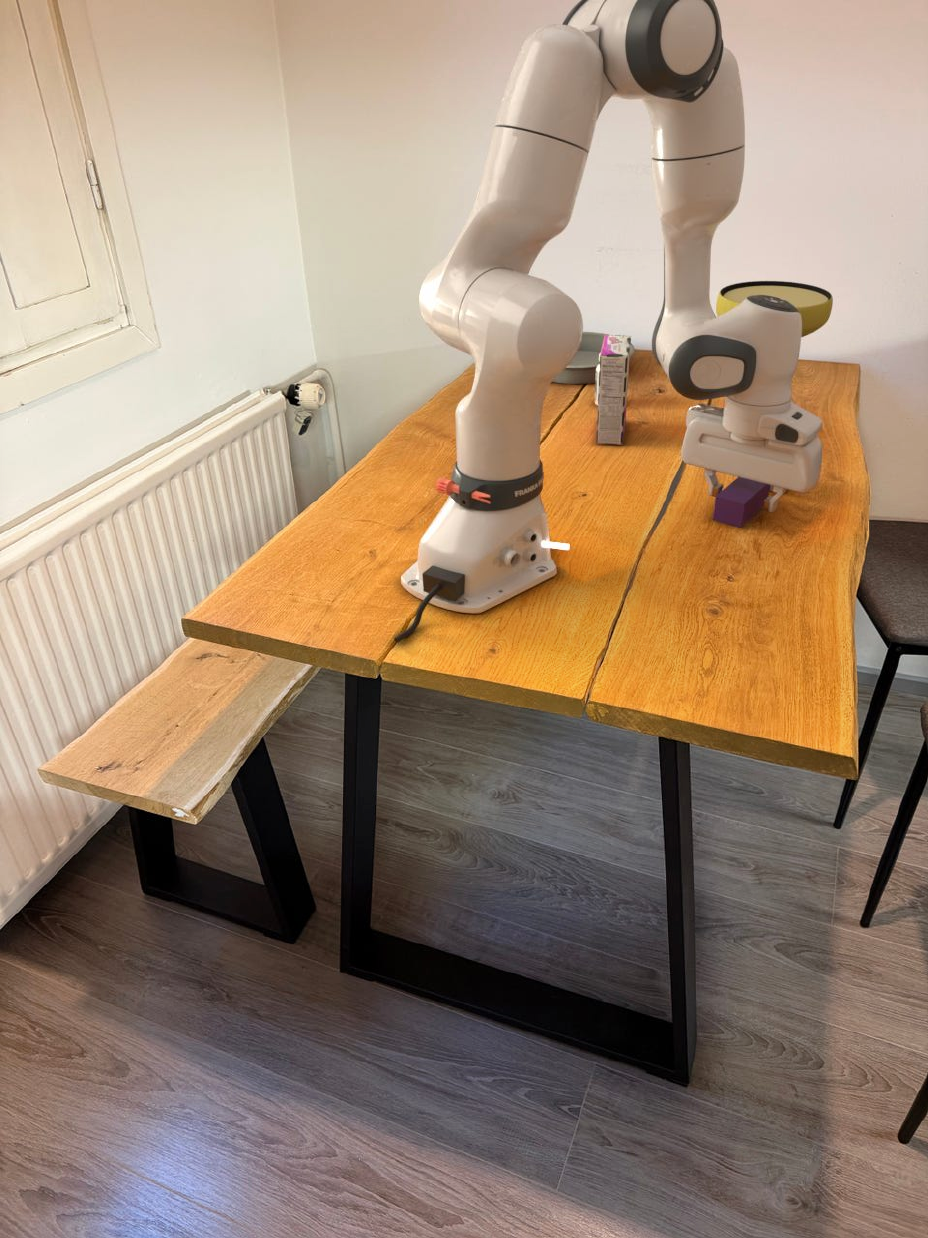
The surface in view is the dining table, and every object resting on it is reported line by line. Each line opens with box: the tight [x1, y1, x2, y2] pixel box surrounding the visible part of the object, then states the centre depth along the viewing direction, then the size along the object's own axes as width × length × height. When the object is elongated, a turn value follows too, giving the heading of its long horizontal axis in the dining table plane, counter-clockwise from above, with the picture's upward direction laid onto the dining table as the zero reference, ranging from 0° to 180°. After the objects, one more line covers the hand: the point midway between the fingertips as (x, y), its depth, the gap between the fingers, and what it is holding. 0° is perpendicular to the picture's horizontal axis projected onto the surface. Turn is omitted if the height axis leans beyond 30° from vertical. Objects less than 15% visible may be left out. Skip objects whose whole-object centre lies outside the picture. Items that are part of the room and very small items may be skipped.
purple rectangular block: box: [712, 477, 771, 528], centre depth 134 cm, size 10×4×4 cm, turn 142°
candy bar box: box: [595, 334, 632, 446], centre depth 158 cm, size 11×5×16 cm, turn 168°
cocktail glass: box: [715, 280, 834, 338], centre depth 151 cm, size 18×18×25 cm
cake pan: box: [551, 331, 636, 385], centre depth 192 cm, size 25×25×4 cm
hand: (741, 502), depth 134 cm, fingers open, 7 cm apart
